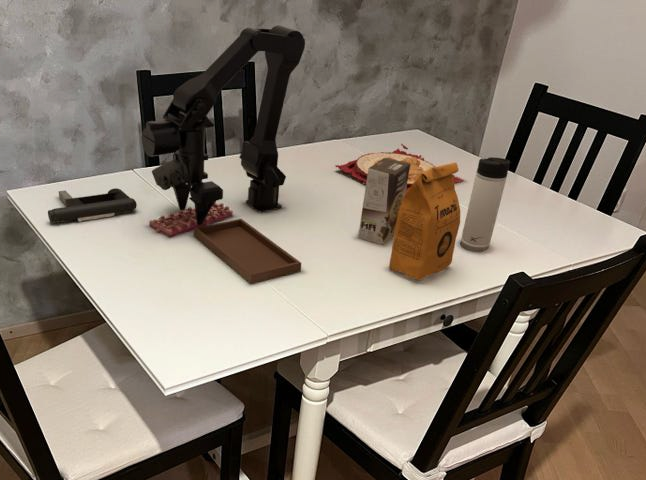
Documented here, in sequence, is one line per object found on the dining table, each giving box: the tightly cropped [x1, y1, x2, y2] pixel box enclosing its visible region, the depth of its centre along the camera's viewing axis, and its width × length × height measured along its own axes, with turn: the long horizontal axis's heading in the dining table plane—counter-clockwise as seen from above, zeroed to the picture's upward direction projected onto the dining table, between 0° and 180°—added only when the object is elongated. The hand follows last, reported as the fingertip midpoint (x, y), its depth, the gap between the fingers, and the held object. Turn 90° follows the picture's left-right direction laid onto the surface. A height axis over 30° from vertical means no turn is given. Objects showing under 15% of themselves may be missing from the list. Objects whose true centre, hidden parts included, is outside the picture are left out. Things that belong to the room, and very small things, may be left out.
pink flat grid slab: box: [148, 201, 234, 238], centre depth 167 cm, size 7×19×2 cm, turn 134°
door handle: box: [47, 187, 138, 223], centre depth 171 cm, size 3×20×16 cm
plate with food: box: [334, 143, 464, 194], centre depth 198 cm, size 24×26×3 cm
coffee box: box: [357, 158, 411, 246], centre depth 163 cm, size 9×6×16 cm
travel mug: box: [459, 156, 511, 253], centre depth 159 cm, size 6×7×20 cm
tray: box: [193, 218, 302, 285], centre depth 156 cm, size 12×24×2 cm, turn 32°
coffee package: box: [388, 162, 461, 281], centre depth 148 cm, size 10×12×22 cm
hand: (190, 217), depth 167 cm, fingers open, 8 cm apart
